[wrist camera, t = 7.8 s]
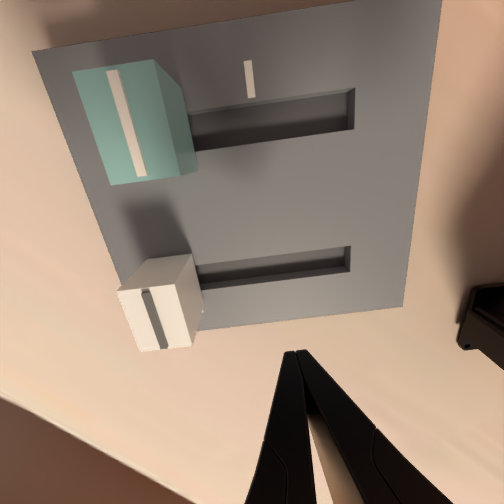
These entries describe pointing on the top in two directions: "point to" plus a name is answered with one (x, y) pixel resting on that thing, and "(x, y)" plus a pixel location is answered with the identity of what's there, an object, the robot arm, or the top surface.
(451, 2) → the top surface
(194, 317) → the fader
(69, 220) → the top surface
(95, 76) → the fader
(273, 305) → the console
